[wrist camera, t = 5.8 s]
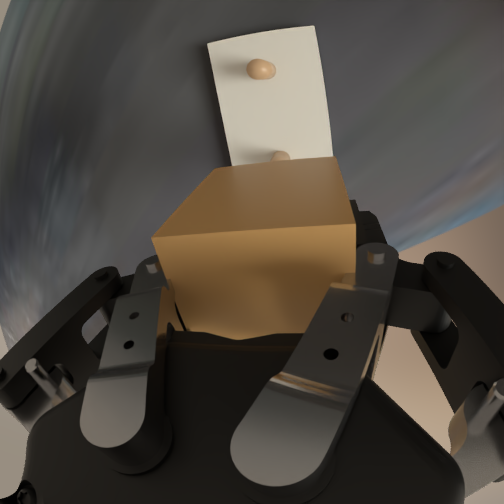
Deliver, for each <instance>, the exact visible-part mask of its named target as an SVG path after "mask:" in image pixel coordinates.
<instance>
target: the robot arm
mask: <svg viewBox="0 0 504 504" xmlns="http://www.w3.org/2000/svg"><path fill="white" fill-rule="evenodd" d="M349 201H350V205H351V208H352V212H353V215H354V219H355V222H356V268H355V273H345V275H344V277H343V279H342V281H341V283H339V282H332V284H331V285H330V287H329V289H328V291H327V292H326V294H325V296H324V298H323V300H322V302H321V304H320V306H319V307H318V309H317V311H316V313H315V315H314V317H313V318H312V320H311V322H310V324H309V326H308V327H307V329H306V331H305V333H275V334H270V335H265V336H259V337H254V338H248V339H242V340H235V339H230V338H226V337H222V336H218V335H215V334H211V333H207V332H195V331H191V330H190V329H186V327H185V325H184V322H183V320H182V317H181V315H180V313H179V310H178V308H177V305H176V303H175V290H174V287H173V285H172V282H171V279H166V277H165V274H164V272H163V269H162V266H161V264H160V261H159V258H158V255H154V256H151V257H149V258H147V259H145V260H143V261H142V262H141V263H140V264H139V265H138V266H137V268H136V272H135V274H132V275H128V276H124V277H121V276H120V274H119V272H118V270H117V268H116V267H112V266H109V267H104V268H101V269H99V270H97V271H95V272H94V273H93V274H91V275H90V276H89V277H88V278H87V279H85V280H84V281H83V282H82V283H81V284H80V285H79V286H77V287H76V288H75V289H74V290H73V291H72V292H71V293H69V294H68V295H67V296H66V297H65V298H64V299H63V300H62V301H61V302H59V303H58V304H57V305H56V306H55V307H54V308H53V309H52V310H51V311H50V312H49V313H47V314H46V315H45V316H44V317H43V318H42V319H41V320H40V321H39V322H38V323H37V324H36V325H35V326H34V327H33V328H32V329H31V330H30V331H29V332H28V333H27V334H25V335H24V336H23V337H22V338H21V339H20V340H19V341H18V342H17V343H16V344H15V345H14V346H13V347H12V348H11V349H10V350H9V352H8V353H7V354H6V355H5V356H4V357H3V358H2V359H1V360H0V403H1V404H2V406H3V407H4V408H5V409H6V410H7V411H8V412H9V413H10V414H11V415H12V416H13V417H14V418H15V419H16V420H17V421H18V422H20V423H21V424H22V425H23V426H24V427H25V428H26V429H27V431H28V432H29V433H30V434H29V436H28V440H27V448H26V460H25V467H24V472H23V476H22V481H21V483H20V485H19V487H18V489H17V491H16V492H15V493H14V494H12V495H11V496H8V497H6V498H2V499H0V504H464V499H465V498H466V497H468V496H470V495H471V494H473V493H474V492H476V491H478V490H480V489H481V488H483V487H485V486H486V485H488V484H490V483H491V482H500V481H503V480H504V304H503V303H502V302H501V301H500V300H499V298H498V297H497V296H496V295H495V294H494V293H493V292H492V291H491V290H490V288H489V287H488V286H487V285H486V284H485V283H484V282H483V281H482V280H481V279H480V278H479V277H478V276H477V275H476V274H475V273H474V272H473V271H472V270H471V269H470V268H469V267H468V266H467V265H466V264H465V263H464V262H463V261H462V260H461V259H460V258H459V257H457V256H456V255H454V254H451V253H448V252H433V253H430V254H428V255H427V256H426V257H425V259H424V263H423V264H417V263H410V262H406V261H403V260H401V259H399V257H398V256H399V254H398V252H397V250H396V249H395V248H393V247H392V246H390V245H388V244H387V242H386V239H385V237H384V234H383V232H382V230H381V227H380V224H379V222H378V219H377V217H376V216H375V215H374V214H372V213H371V212H370V211H359V210H358V207H357V204H356V201H355V200H349ZM98 309H99V310H100V312H101V313H102V315H103V317H104V319H105V321H106V322H107V325H106V326H105V327H104V328H103V329H102V330H101V331H100V332H99V334H98V335H97V336H96V337H95V338H94V339H93V340H92V341H91V342H90V343H89V344H87V342H86V341H85V339H84V338H83V336H82V327H83V325H84V323H85V322H86V321H87V320H88V319H89V318H90V317H91V316H92V315H93V314H94V313H95V312H96V311H97V310H98ZM451 319H452V320H453V322H454V323H455V324H454V323H453V322H452V320H451ZM455 325H456V326H457V327H456V326H455ZM388 326H395V327H400V328H406V329H411V334H412V336H413V337H414V339H415V341H416V343H417V344H418V346H419V348H420V349H421V351H422V353H423V355H424V357H425V359H426V360H427V362H428V364H429V365H430V368H431V369H432V371H433V373H434V375H435V377H436V379H437V381H438V382H439V384H440V386H441V388H442V390H443V392H444V394H445V396H446V398H447V400H448V402H449V404H450V406H451V408H452V410H453V412H454V416H453V417H452V419H451V421H450V424H449V429H448V432H449V438H450V442H451V451H450V454H449V453H448V452H447V451H446V450H445V449H444V448H443V447H442V446H441V445H440V444H439V443H437V442H436V441H435V440H434V439H433V438H432V437H431V436H430V435H429V434H428V433H427V432H426V431H425V430H424V429H423V428H422V427H421V426H420V425H419V424H418V423H416V422H415V421H414V420H413V419H412V418H411V417H410V416H409V415H408V414H407V413H406V412H405V411H404V410H403V409H402V408H401V407H400V406H399V405H398V404H397V403H395V401H394V400H392V399H391V398H390V397H389V396H388V395H387V394H386V393H385V392H384V391H383V390H382V389H381V388H380V387H379V386H378V385H377V384H376V383H375V382H374V381H373V379H374V375H375V371H376V368H377V364H378V361H379V357H380V354H381V351H382V348H383V344H384V341H385V337H386V334H387V330H388Z"/></svg>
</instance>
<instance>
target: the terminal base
mask: <svg viewBox="0 0 504 504" xmlns="http://www.w3.org/2000/svg"><path fill="white" fill-rule="evenodd" d="M207 45H208V50H209V55H210V60H211V65H212V70H213V75H214V80H215V85H216V89H217V94H218V99H219V104H220V109H221V114H222V119H223V124H224V129H225V133H226V138H227V143H228V148H229V153H230V158H231V163H232V166H236V165H244V164H253V163H262V162H271V161H281V160H292V159H304V158H318V157H333V152H332V142H331V132H330V124H329V115H328V108H327V100H326V93H325V86H324V79H323V73H322V67H321V61H320V55H319V49H318V44H317V38H316V33H315V28H314V26H305V27H295V28H287V29H279V30H272V31H266V32H260V33H254V34H248V35H243V36H238V37H233V38H229V39H224V40H220V41H216V42H212V43H208V44H207Z"/></svg>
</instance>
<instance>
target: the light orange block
mask: <svg viewBox="0 0 504 504" xmlns="http://www.w3.org/2000/svg"><path fill="white" fill-rule="evenodd" d="M152 241H153V244H154V247H155V250H156V253H157V255H158V258H159V261H160V264H161V266H162V269H163V272H164V274H165V277H166V279H171V282H172V285H173V287H174V290H175V303H176V305H177V308H178V310H179V313H180V315H181V317H182V320H183V322H184V325H185V327H186V329H190V330H191V331H195V332H207V333H211V334H215V335H218V336H222V337H226V338H230V339H235V340H242V339H248V338H254V337H259V336H265V335H270V334H275V333H305V331H306V329H307V327H308V326H309V324H310V322H311V320H312V318H313V317H314V315H315V313H316V311H317V309H318V307H319V306H320V304H321V302H322V300H323V298H324V296H325V294H326V292H327V291H328V289H329V287H330V285H331V284H332V282H339V283H341V281H342V279H343V277H344V275H345V273H355V268H356V222H355V219H354V215H353V212H352V208H351V205H350V201H349V198H348V194H347V191H346V188H345V185H344V181H343V178H342V175H341V172H340V169H339V166H338V163H337V160H336V157H335V156H333V157H318V158H304V159H292V160H281V161H271V162H262V163H253V164H244V165H236V166H228V167H221V168H215V169H214V170H213V171H212V172H211V173H210V174H209V175H208V176H207V177H206V178H205V179H204V180H203V181H202V182H201V183H200V185H199V186H198V187H197V188H196V189H195V190H194V191H193V192H192V193H191V194H190V195H189V196H188V197H187V198H186V199H185V201H184V202H183V203H182V204H181V205H180V206H179V207H178V208H177V209H176V210H175V212H174V213H173V214H172V215H171V216H170V217H169V218H168V219H167V220H166V222H165V223H164V224H163V225H162V226H161V227H160V228H159V230H158V231H157V232H156V233H155V234H154V235H153V236H152Z"/></svg>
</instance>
